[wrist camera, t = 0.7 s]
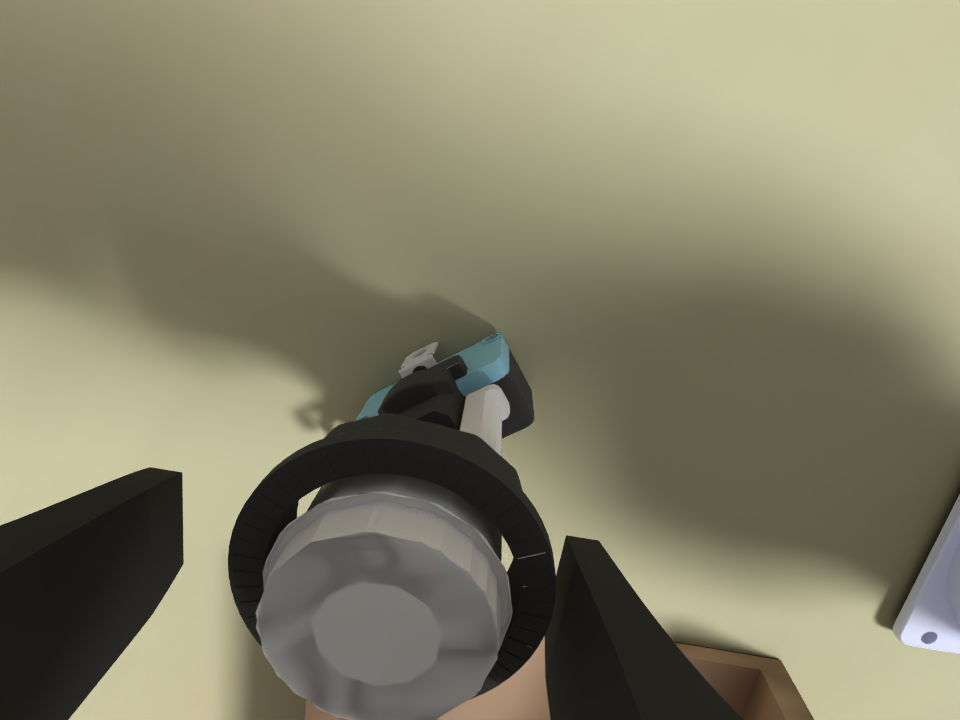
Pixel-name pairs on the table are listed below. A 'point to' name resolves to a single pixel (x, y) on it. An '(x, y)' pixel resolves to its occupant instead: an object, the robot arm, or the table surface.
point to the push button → (401, 547)
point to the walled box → (736, 677)
